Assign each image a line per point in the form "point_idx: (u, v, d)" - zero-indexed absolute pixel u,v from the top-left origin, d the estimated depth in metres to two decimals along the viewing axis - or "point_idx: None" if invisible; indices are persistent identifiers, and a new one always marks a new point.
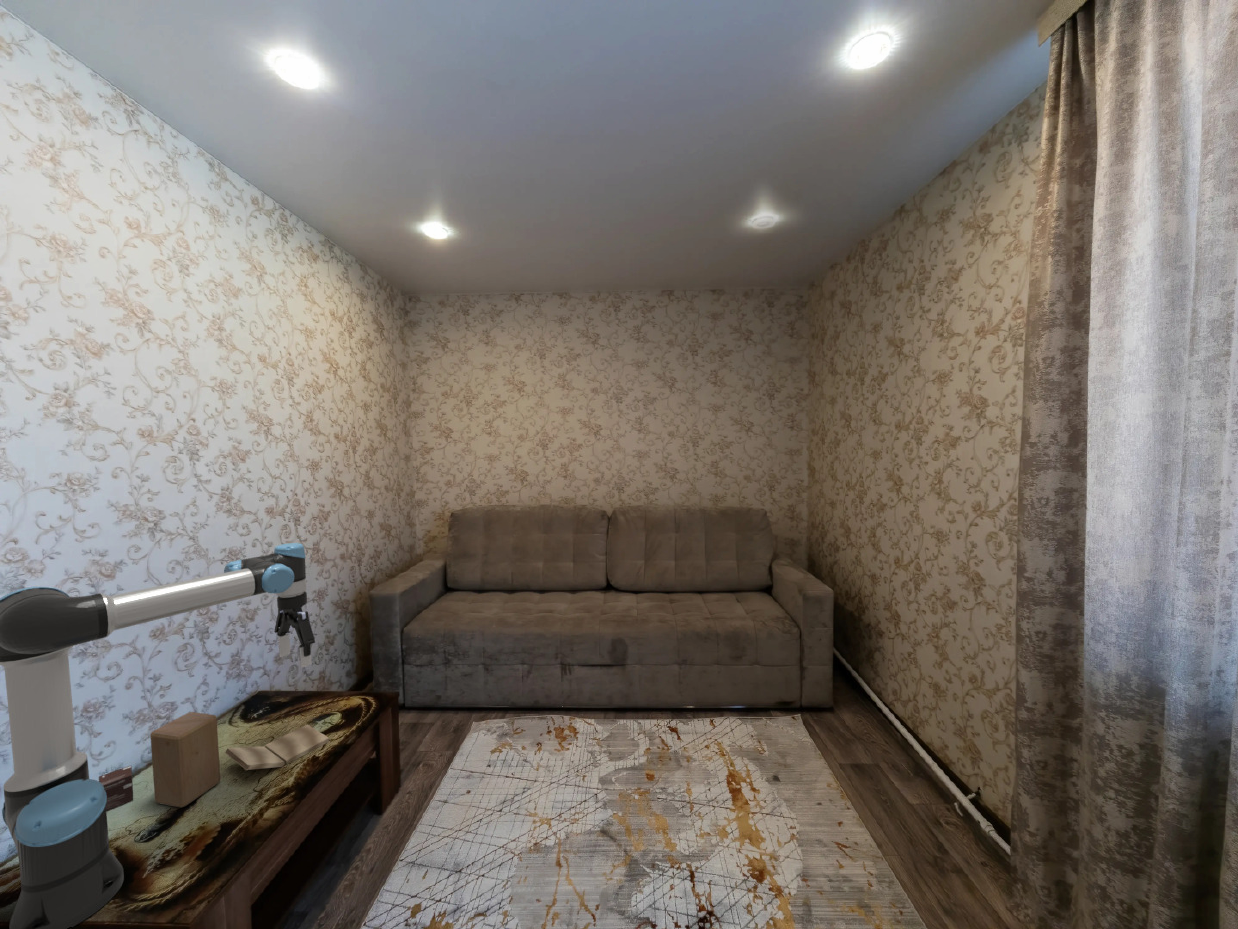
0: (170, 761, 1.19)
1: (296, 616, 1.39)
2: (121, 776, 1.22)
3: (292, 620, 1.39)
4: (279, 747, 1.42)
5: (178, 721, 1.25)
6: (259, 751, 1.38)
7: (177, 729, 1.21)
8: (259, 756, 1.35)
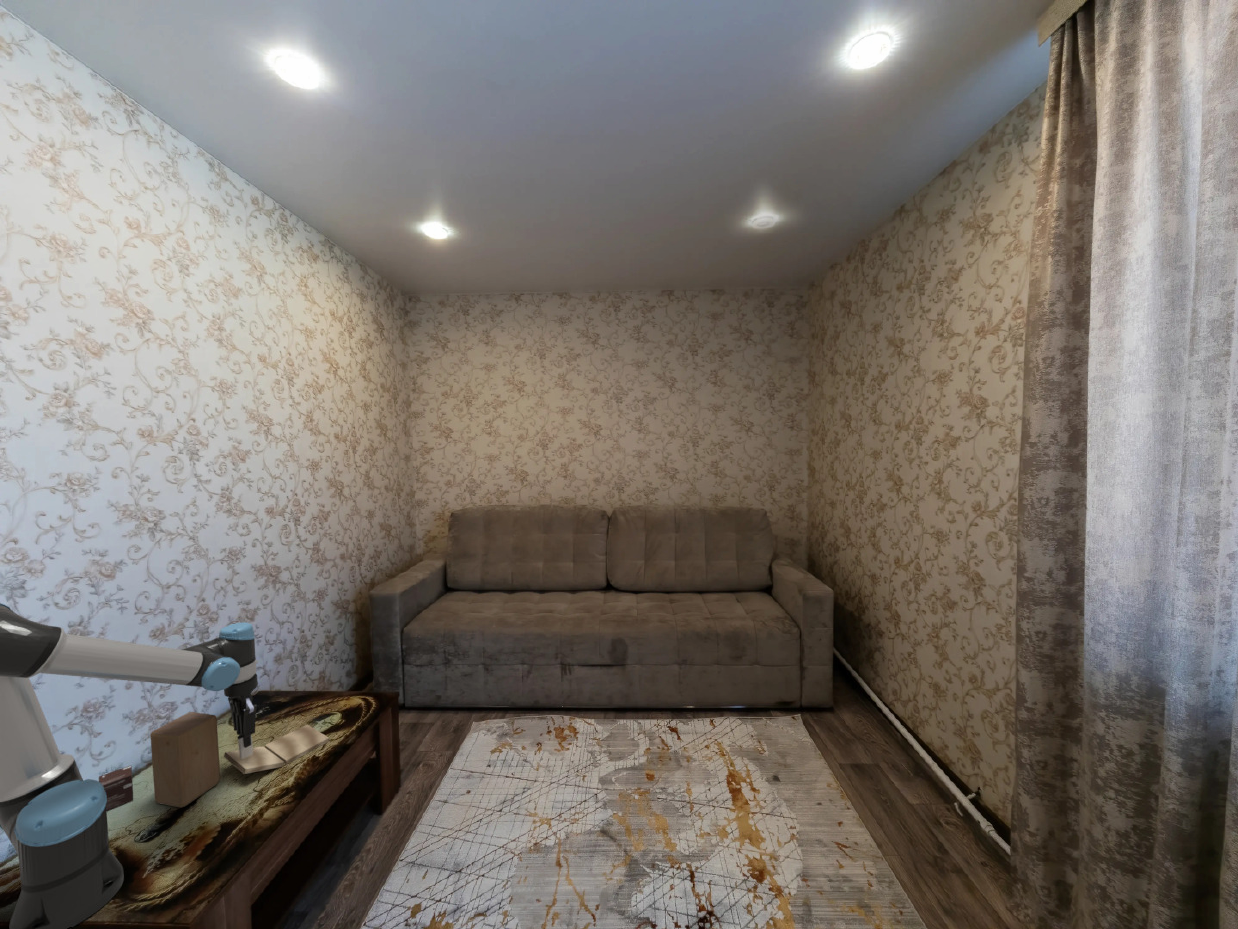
0: (170, 761, 1.19)
1: (244, 704, 1.30)
2: (121, 776, 1.22)
3: (239, 709, 1.30)
4: (279, 747, 1.42)
5: (178, 721, 1.25)
6: (258, 752, 1.38)
7: (177, 729, 1.21)
8: (258, 758, 1.34)
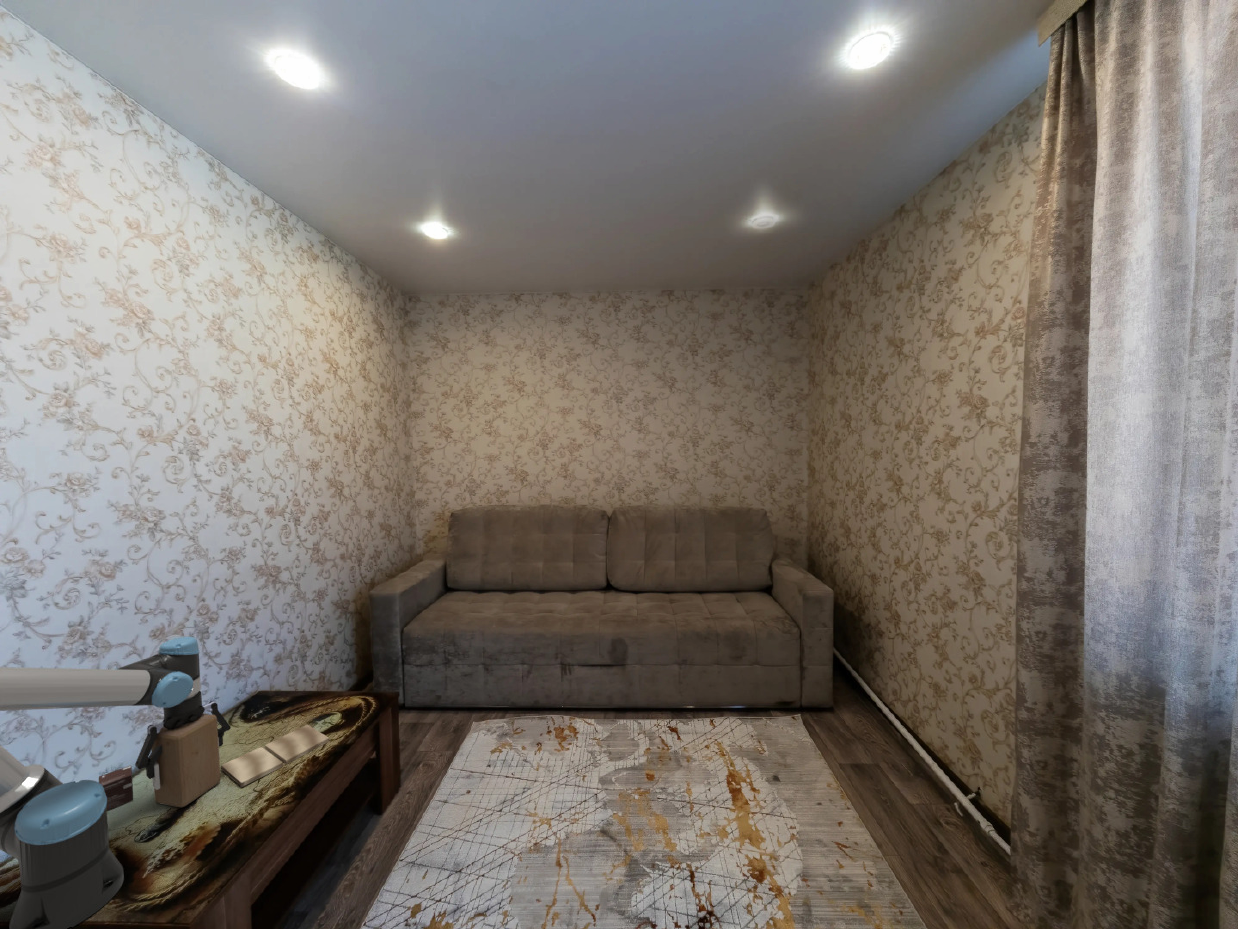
0: (170, 761, 1.19)
1: None
2: (121, 776, 1.22)
3: None
4: (279, 747, 1.42)
5: None
6: (255, 756, 1.38)
7: (177, 729, 1.21)
8: (255, 765, 1.34)
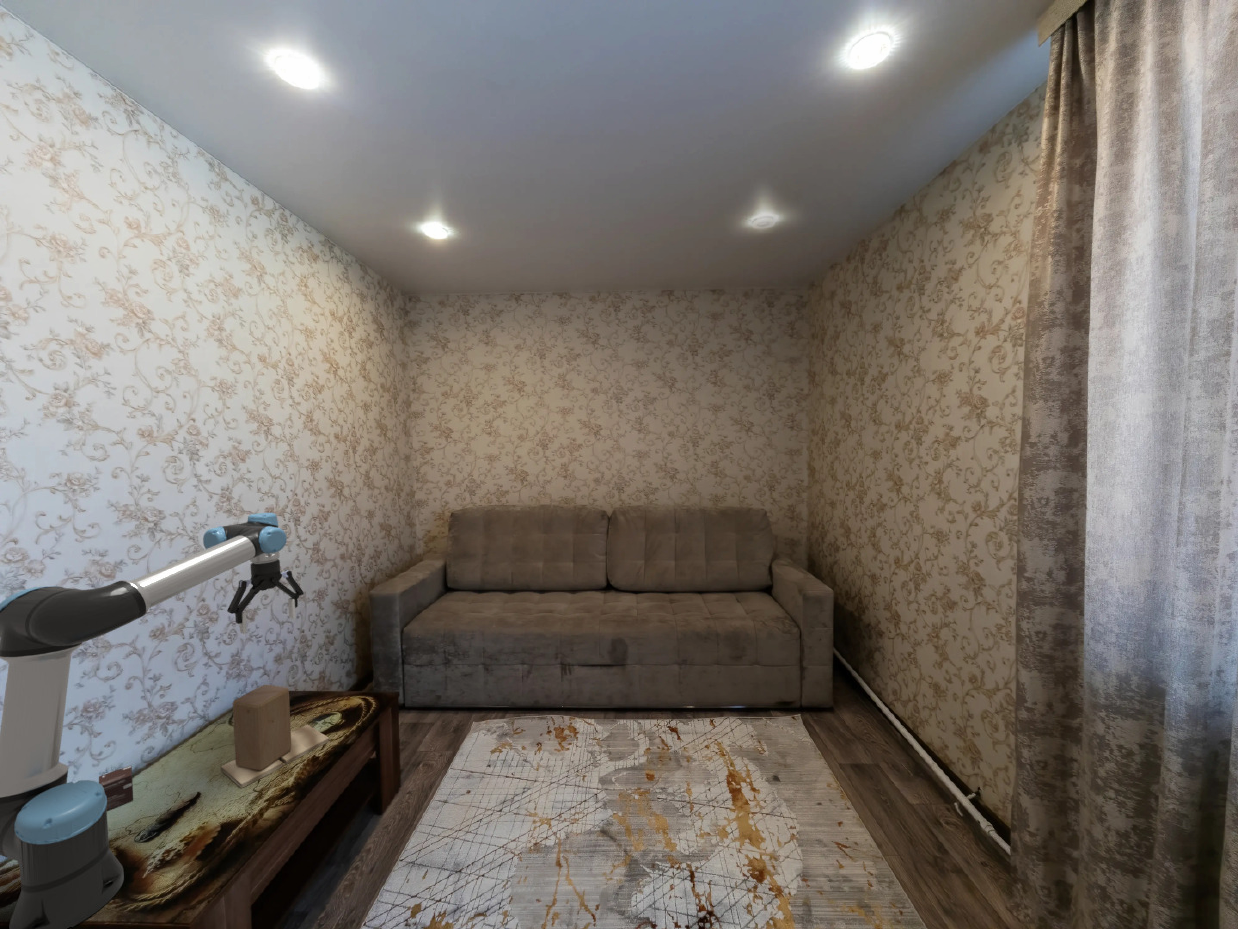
0: (250, 727, 1.31)
1: None
2: (121, 776, 1.22)
3: None
4: None
5: (256, 692, 1.37)
6: None
7: (256, 698, 1.33)
8: None
